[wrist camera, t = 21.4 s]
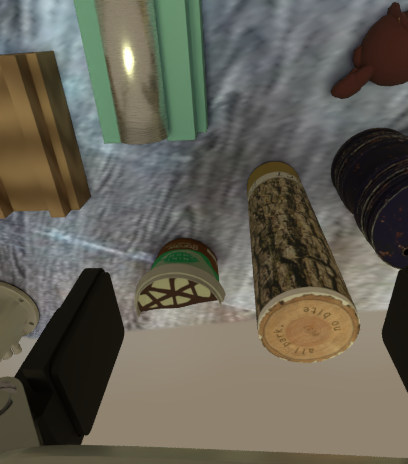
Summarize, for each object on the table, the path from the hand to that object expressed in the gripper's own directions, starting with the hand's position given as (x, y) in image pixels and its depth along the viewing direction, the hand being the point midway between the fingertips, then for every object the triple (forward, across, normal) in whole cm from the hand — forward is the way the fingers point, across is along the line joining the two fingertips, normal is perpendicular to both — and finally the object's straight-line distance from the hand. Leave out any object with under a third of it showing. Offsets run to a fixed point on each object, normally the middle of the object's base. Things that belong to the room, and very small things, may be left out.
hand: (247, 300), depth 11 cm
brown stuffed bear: (+34, -16, -5) cm, 37 cm away
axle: (+28, +10, -6) cm, 30 cm away
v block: (+33, +10, -5) cm, 35 cm away
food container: (+34, +9, +20) cm, 40 cm away
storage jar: (+34, -16, +8) cm, 38 cm away
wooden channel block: (+33, +27, +2) cm, 43 cm away
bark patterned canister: (+34, -4, +10) cm, 35 cm away
